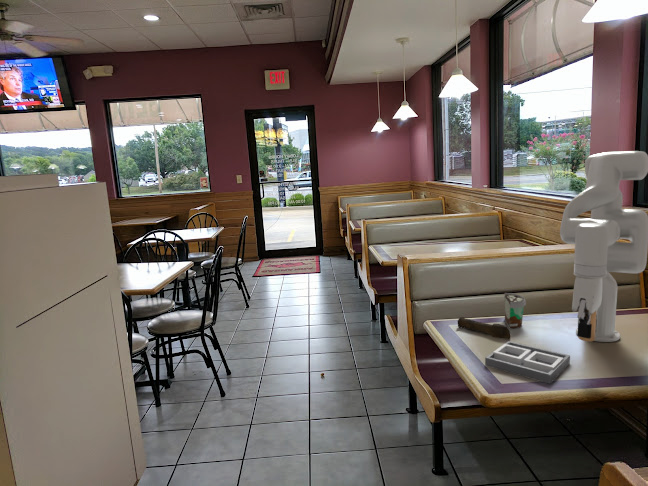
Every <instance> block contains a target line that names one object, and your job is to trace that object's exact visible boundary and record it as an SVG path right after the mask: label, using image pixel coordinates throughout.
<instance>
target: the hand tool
mask: <svg viewBox="0 0 648 486" xmlns="http://www.w3.org/2000/svg"><path fill="white" fill-rule="evenodd" d="M460 327H461V329H467V330H471V331H475V332H479V333H483V334H488V335H490V336H491V337H493V338H497V339H502V340H503V339H504V340H510V339H511V336H512V335H511V332H510V330H509V329H510V328H509V327H508V325H503V324H500V323H493V324H491V323H490V324H489V323H485V322H481V321H476V320H474V319H468V318H466V317H463V316H461V317H458V319H457V328H459V329H460Z"/></svg>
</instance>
